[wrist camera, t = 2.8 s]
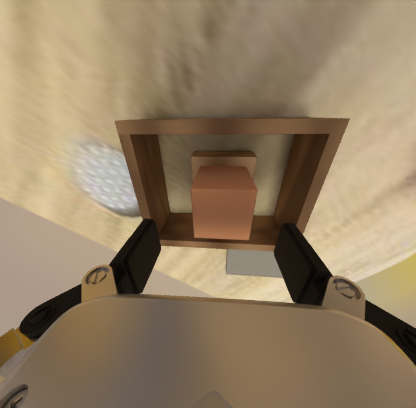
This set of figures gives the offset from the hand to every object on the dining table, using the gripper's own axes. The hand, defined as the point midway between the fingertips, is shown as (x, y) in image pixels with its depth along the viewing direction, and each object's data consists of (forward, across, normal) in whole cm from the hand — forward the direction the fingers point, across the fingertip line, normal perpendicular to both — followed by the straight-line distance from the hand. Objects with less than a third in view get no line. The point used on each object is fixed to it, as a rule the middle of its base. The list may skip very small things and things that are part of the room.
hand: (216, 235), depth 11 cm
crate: (+11, -1, -1) cm, 11 cm away
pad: (+11, -8, +13) cm, 19 cm away
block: (+8, -1, -1) cm, 8 cm away
